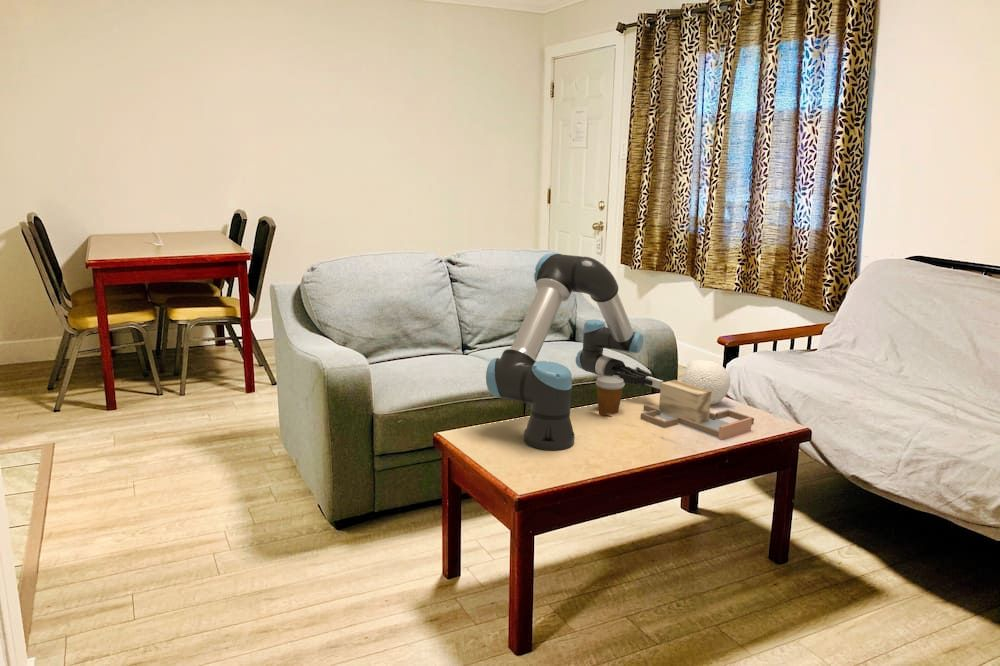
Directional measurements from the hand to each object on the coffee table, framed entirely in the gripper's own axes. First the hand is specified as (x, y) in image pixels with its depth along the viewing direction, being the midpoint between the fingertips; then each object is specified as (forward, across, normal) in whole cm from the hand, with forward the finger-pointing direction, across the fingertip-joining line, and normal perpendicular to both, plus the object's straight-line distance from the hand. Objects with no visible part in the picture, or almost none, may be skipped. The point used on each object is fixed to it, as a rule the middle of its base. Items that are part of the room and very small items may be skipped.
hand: (661, 385), depth 257 cm
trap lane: (+15, 0, -9) cm, 17 cm away
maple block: (+10, 0, -8) cm, 13 cm away
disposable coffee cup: (-7, +17, -9) cm, 21 cm away
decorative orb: (+3, -19, -10) cm, 21 cm away
